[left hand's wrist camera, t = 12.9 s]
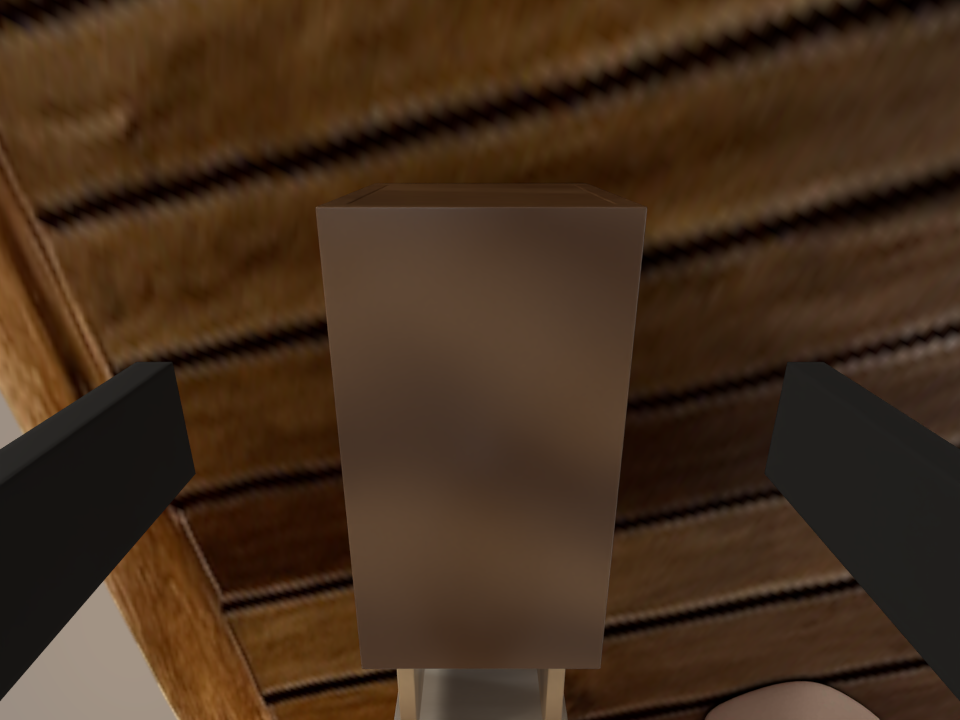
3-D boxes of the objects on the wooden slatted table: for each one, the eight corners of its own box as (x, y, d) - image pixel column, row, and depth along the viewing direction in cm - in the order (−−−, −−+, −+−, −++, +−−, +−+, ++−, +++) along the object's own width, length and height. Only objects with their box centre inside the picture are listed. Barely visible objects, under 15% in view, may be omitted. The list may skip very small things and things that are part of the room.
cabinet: (565, 518, 35) (600, 669, 25) (395, 518, 35) (361, 669, 25) (587, 183, 28) (647, 206, 18) (373, 183, 28) (314, 206, 18)
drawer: (547, 702, 40) (566, 852, 31) (413, 702, 40) (396, 852, 31) (567, 370, 31) (600, 456, 22) (393, 370, 31) (361, 456, 22)
